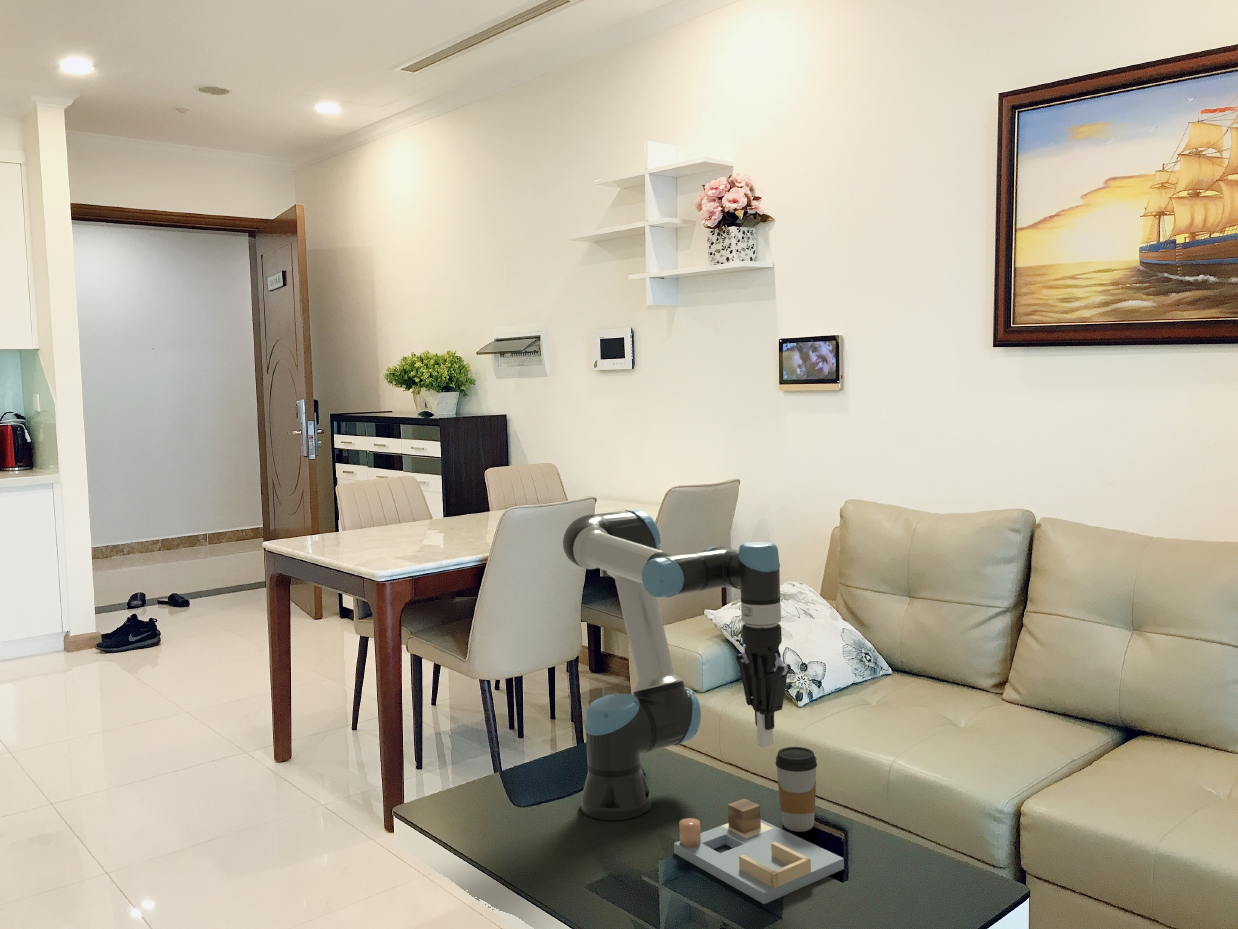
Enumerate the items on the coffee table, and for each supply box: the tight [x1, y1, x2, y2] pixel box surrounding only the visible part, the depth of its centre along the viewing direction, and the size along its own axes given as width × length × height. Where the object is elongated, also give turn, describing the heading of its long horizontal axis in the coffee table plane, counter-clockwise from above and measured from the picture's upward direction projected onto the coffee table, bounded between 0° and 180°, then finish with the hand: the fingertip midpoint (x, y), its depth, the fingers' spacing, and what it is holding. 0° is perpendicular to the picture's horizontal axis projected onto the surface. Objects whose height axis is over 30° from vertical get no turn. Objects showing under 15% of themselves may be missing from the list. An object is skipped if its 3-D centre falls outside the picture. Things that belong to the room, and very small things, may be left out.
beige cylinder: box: [678, 817, 702, 848], centre depth 186 cm, size 4×4×4 cm
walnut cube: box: [727, 798, 762, 834], centre depth 192 cm, size 4×4×4 cm
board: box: [673, 819, 845, 905], centre depth 182 cm, size 25×20×4 cm
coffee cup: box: [775, 746, 818, 832], centre depth 196 cm, size 8×8×15 cm
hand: (765, 744), depth 186 cm, fingers closed
